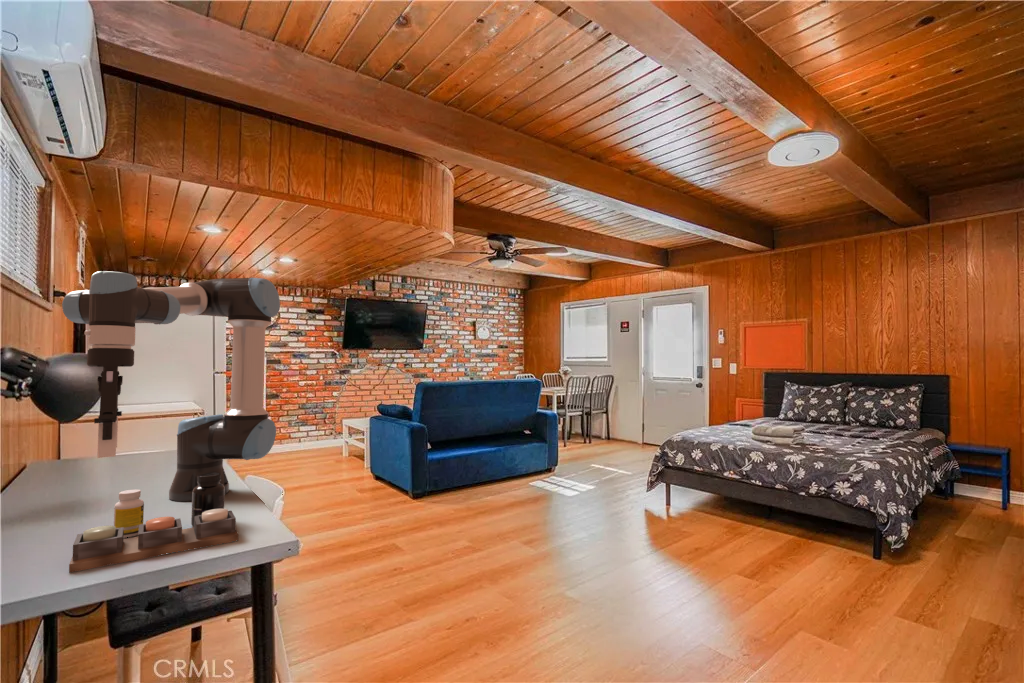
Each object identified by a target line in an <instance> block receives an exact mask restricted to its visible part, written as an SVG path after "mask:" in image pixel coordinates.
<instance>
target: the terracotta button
mask: <svg viewBox="0 0 1024 683" xmlns="http://www.w3.org/2000/svg"><path fill="white" fill-rule="evenodd" d="M175 519H176V517H174V516H160V517H156V518H152V519H148V520H147V521H146V522H145V524H146V532H149V531H155V530H161V529H167V528H174V526H175Z"/></svg>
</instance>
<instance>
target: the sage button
mask: <svg viewBox="0 0 1024 683" xmlns="http://www.w3.org/2000/svg"><path fill="white" fill-rule="evenodd" d="M115 529H116V527H115V526H114V525H100V526H95V527H92V528H88V529H85V530H84V531H83V533H82V534H83V542H88V541H94V540H100V539H106V538H112V537H115Z"/></svg>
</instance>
